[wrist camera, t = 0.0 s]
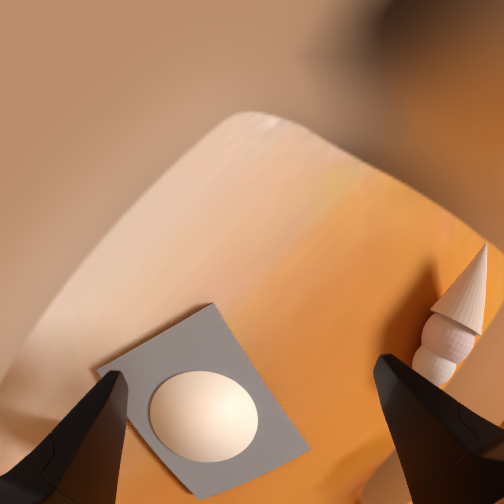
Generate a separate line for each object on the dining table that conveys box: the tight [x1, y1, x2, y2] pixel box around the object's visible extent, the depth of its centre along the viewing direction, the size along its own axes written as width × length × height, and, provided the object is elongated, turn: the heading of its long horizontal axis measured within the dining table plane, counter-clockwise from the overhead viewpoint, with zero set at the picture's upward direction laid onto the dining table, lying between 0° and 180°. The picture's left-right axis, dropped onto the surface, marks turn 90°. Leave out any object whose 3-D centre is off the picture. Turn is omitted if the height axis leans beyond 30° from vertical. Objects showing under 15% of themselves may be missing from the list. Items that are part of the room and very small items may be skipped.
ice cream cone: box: [412, 242, 487, 386], centre depth 22 cm, size 6×6×15 cm
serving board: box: [96, 303, 311, 500], centre depth 22 cm, size 16×12×2 cm
